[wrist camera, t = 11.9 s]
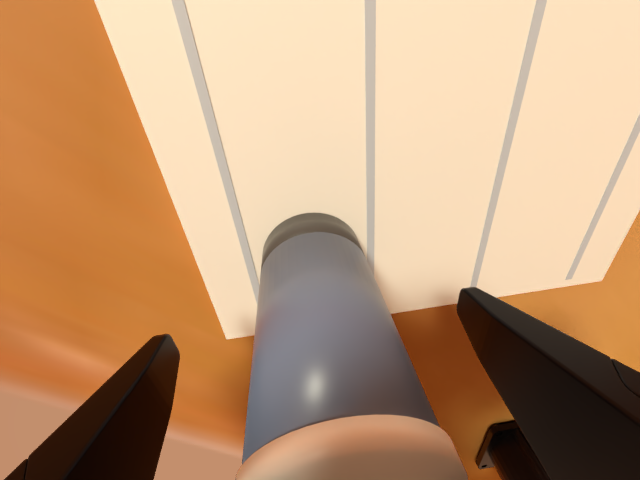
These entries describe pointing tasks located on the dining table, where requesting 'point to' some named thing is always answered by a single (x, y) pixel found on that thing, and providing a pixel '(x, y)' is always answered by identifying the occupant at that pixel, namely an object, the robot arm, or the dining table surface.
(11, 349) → the dining table surface
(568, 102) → the paper
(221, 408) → the dining table surface
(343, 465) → the grey capped bottle
